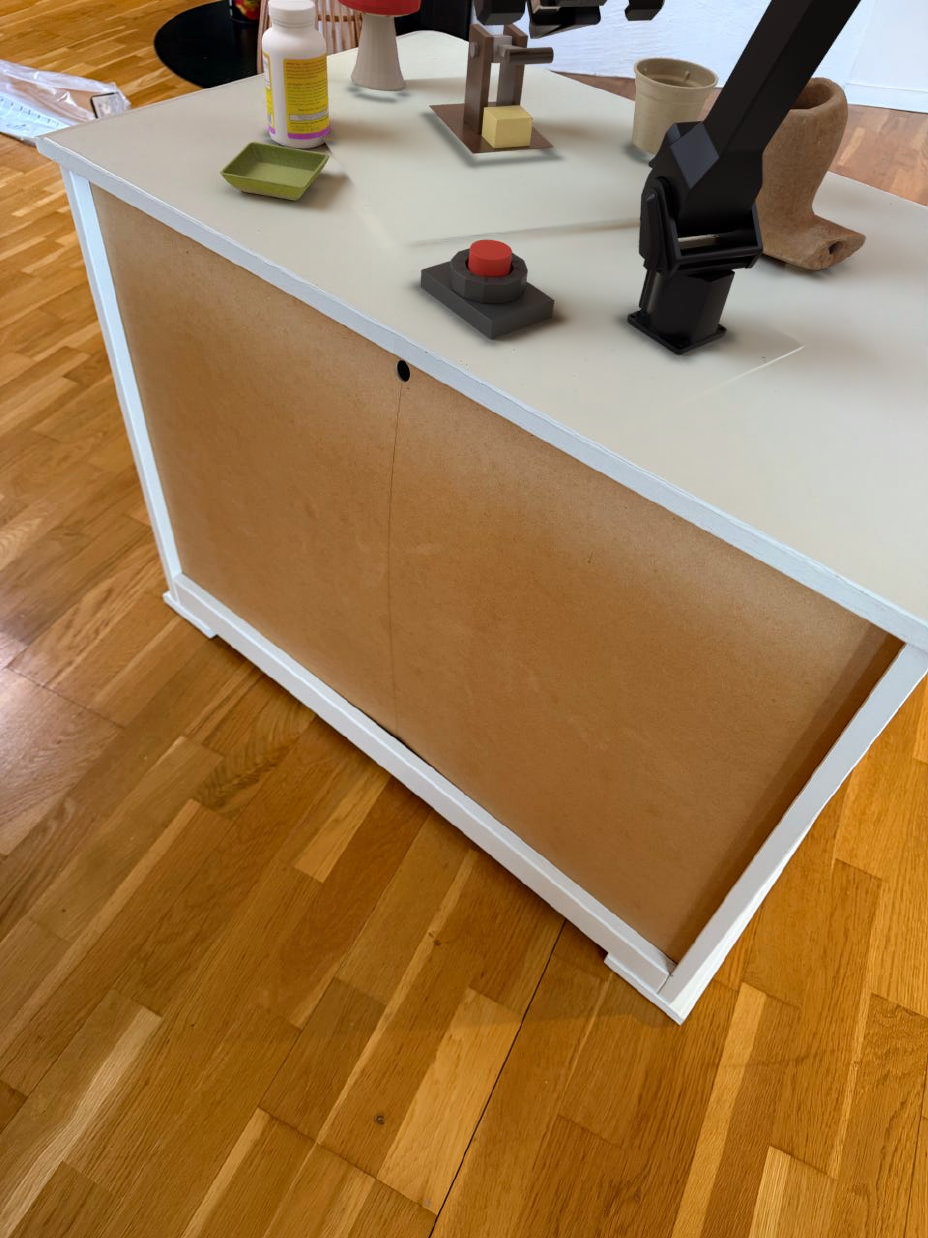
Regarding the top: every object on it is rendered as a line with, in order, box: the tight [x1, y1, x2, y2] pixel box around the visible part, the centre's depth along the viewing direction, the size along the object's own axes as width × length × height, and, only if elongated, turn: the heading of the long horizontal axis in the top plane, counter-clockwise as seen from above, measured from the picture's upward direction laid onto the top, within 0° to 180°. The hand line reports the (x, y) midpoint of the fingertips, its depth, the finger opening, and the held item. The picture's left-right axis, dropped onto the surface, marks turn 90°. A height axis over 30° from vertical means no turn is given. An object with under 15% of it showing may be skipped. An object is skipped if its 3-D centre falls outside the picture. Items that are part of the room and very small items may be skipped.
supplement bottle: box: [261, 0, 330, 150], centre depth 94 cm, size 7×7×13 cm
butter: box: [482, 104, 534, 149], centre depth 99 cm, size 4×4×3 cm
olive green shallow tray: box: [219, 141, 331, 201], centre depth 90 cm, size 9×9×2 cm
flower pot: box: [631, 56, 719, 155], centre depth 101 cm, size 9×9×9 cm
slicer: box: [428, 23, 555, 155], centre depth 100 cm, size 14×10×11 cm
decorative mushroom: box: [337, 0, 422, 92], centre depth 104 cm, size 10×9×15 cm
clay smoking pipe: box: [755, 76, 867, 271], centre depth 85 cm, size 15×12×15 cm
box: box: [420, 247, 556, 340], centre depth 77 cm, size 10×7×4 cm
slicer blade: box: [491, 33, 555, 66], centre depth 94 cm, size 10×5×2 cm, turn 22°
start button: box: [468, 239, 513, 278], centre depth 76 cm, size 4×4×2 cm
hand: (532, 33), depth 89 cm, fingers closed
